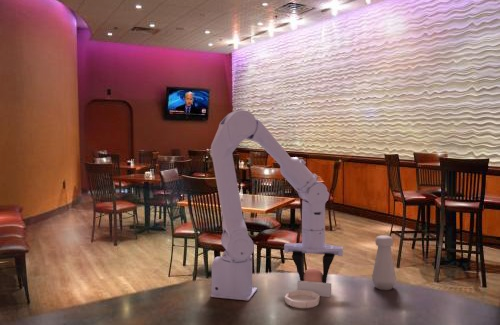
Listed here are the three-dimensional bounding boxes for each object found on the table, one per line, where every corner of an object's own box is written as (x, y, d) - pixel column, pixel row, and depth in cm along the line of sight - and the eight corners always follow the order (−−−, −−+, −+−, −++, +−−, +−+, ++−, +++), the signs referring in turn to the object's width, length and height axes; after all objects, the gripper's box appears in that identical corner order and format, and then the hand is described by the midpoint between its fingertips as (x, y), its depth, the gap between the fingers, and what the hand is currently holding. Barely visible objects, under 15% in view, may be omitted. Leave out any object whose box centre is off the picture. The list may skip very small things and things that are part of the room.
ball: (301, 289, 115) (301, 270, 114) (305, 283, 120) (305, 264, 119) (322, 291, 113) (322, 271, 113) (324, 285, 118) (324, 265, 118)
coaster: (282, 306, 104) (282, 300, 104) (289, 294, 111) (289, 289, 111) (316, 309, 102) (316, 303, 102) (321, 297, 109) (321, 291, 109)
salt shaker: (396, 292, 113) (397, 239, 112) (372, 290, 114) (373, 238, 113) (394, 284, 118) (395, 234, 117) (371, 282, 119) (371, 233, 119)
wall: (297, 294, 112) (297, 281, 112) (298, 292, 113) (298, 280, 112) (330, 297, 109) (330, 284, 109) (331, 295, 110) (331, 283, 110)
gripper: (281, 230, 114) (281, 284, 115) (341, 233, 110) (341, 289, 110) (287, 224, 120) (287, 275, 121) (344, 227, 116) (343, 280, 117)
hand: (313, 281), depth 116 cm, fingers closed on ball, 5 cm apart
